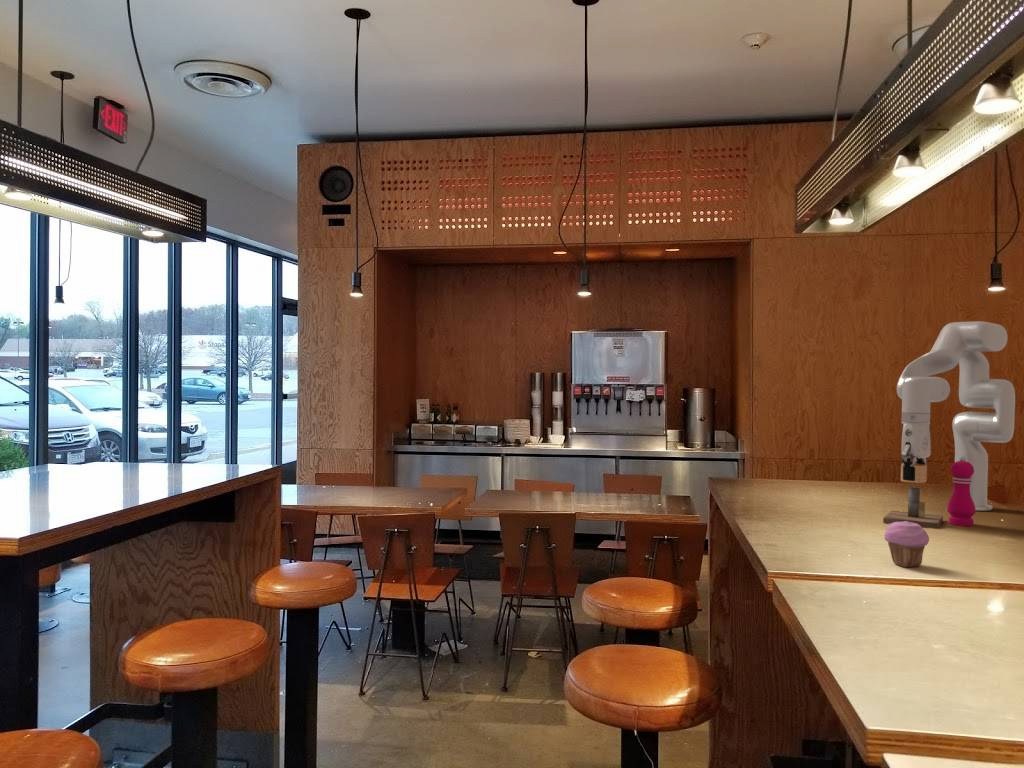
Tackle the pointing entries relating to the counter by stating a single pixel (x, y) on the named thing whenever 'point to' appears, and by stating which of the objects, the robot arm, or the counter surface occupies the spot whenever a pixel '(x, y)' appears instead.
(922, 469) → the pale wooden collar
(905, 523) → the cupcake
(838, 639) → the counter surface
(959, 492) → the pepper mill
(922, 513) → the keyed shaft block
